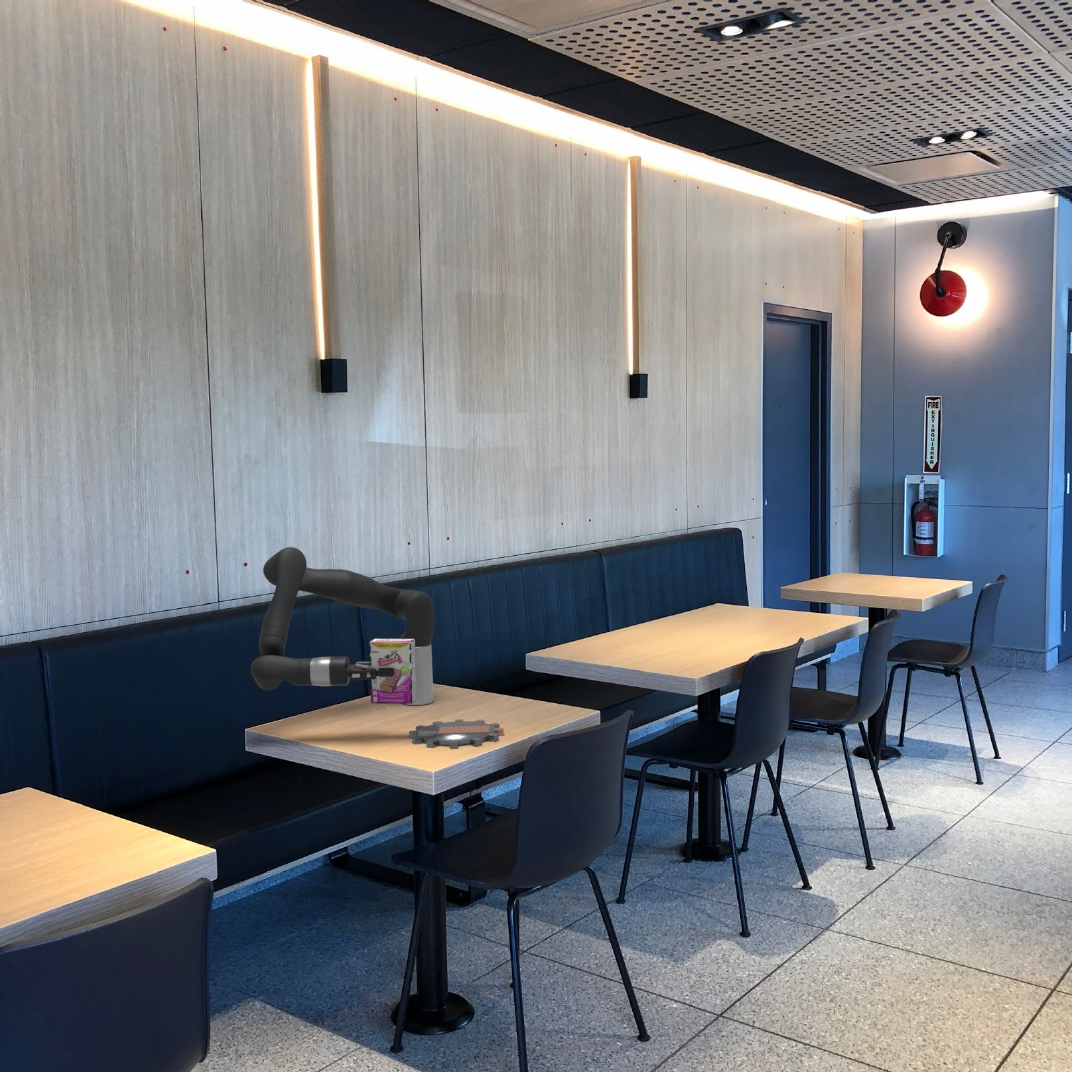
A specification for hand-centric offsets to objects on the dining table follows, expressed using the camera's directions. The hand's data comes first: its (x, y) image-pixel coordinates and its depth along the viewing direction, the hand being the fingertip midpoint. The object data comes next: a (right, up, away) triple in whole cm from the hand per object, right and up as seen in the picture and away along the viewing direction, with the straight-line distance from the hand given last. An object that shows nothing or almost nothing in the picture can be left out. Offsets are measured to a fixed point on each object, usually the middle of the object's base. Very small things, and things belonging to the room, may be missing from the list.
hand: (395, 669), depth 289 cm
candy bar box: (0, -9, 0) cm, 9 cm away
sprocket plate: (+16, -17, 0) cm, 23 cm away
